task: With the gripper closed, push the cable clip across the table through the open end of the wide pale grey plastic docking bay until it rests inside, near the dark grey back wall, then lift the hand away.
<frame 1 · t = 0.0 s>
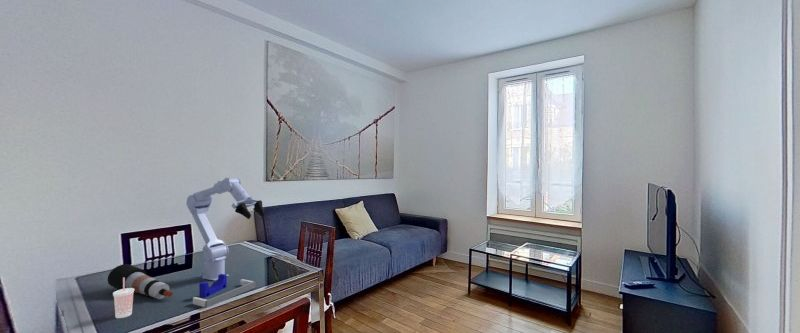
hand: (256, 216, 145), 32 cm above the table, tool tilted 50°, fingers open, 7 cm apart
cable: (144, 294, 136), on the table
cable clip: (212, 292, 139), on the table
beverage cup: (123, 315, 117), on the table
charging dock: (225, 294, 135), on the table
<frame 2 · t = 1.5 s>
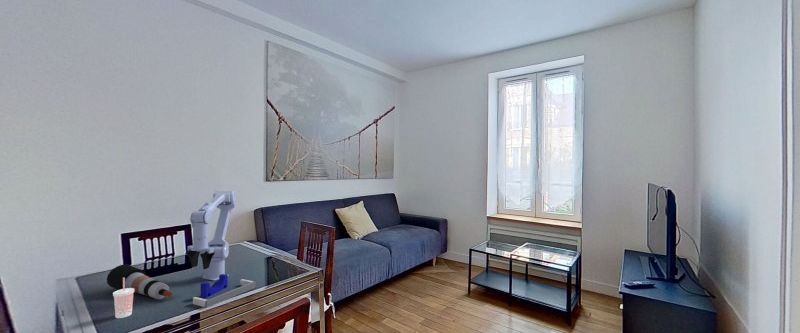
hand: (200, 267, 141), 10 cm above the table, tool pointing down, fingers open, 7 cm apart
nothing on the table moved.
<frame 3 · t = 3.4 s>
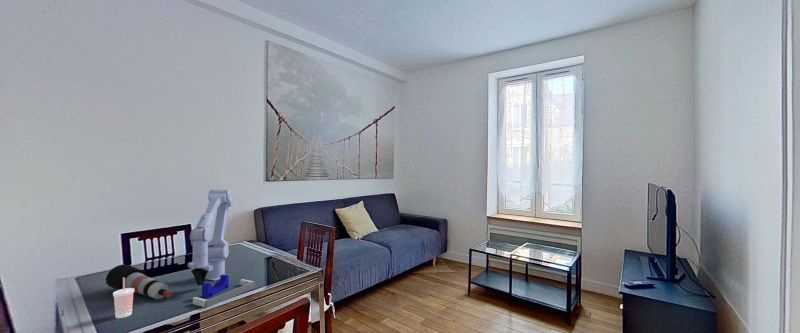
hand: (200, 284, 142), 2 cm above the table, tool pointing down, fingers closed
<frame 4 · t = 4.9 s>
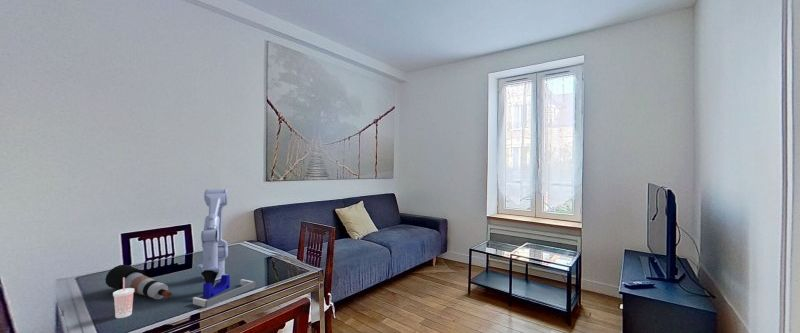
hand: (210, 287, 139), 2 cm above the table, tool pointing down, fingers closed
cable clip: (215, 293, 138), on the table, touching gripper
everything else where it was.
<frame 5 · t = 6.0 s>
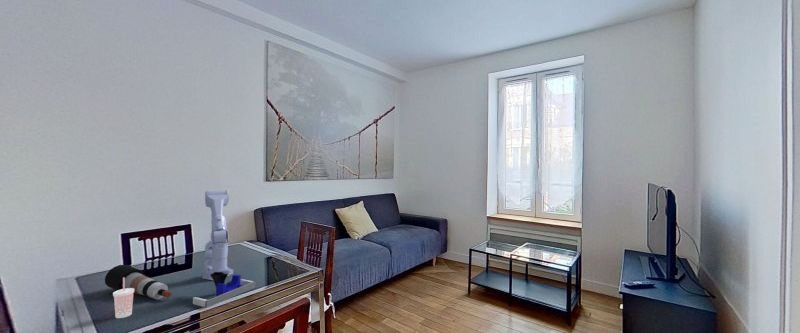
hand: (219, 289, 136), 2 cm above the table, tool pointing down, fingers closed
cable clip: (226, 293, 137), on the table, touching gripper
everything else where it was.
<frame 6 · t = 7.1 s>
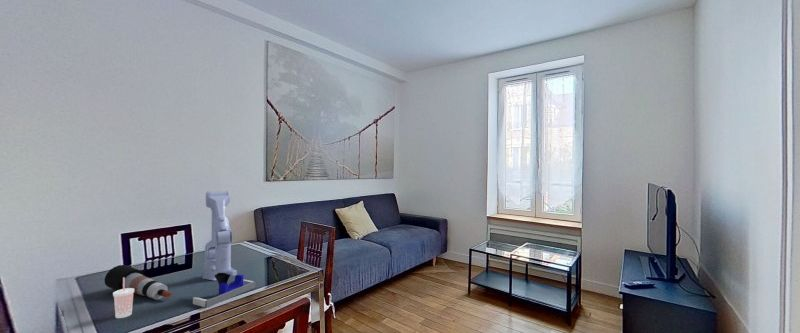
hand: (223, 289, 136), 2 cm above the table, tool pointing down, fingers closed, pressing on cable clip
cable clip: (229, 293, 137), on the table, touching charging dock, gripper
everything else where it was.
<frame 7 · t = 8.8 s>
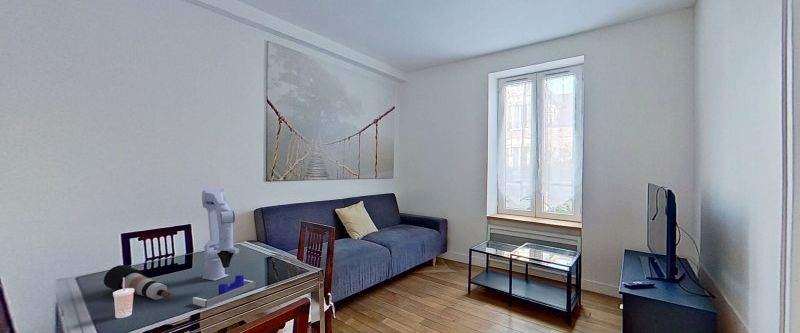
hand: (226, 267, 143), 9 cm above the table, tool pointing down, fingers closed
cable clip: (230, 294, 137), on the table
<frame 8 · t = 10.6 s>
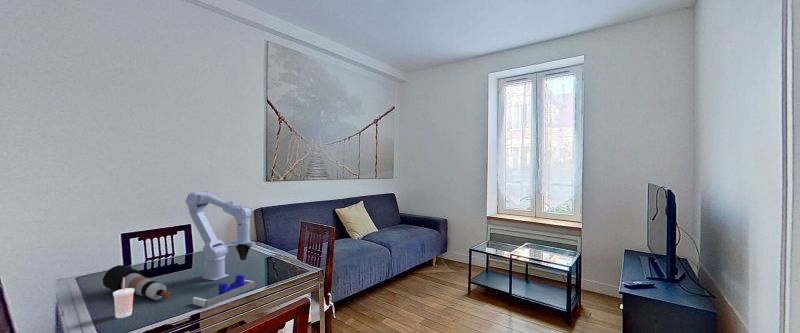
hand: (243, 259, 155), 9 cm above the table, tool pointing down, fingers closed
at the end: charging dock 0.0 cm off-centre on the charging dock, point 0.0 cm above the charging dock's base; cable clip inside the target area on the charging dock (2.5 cm from its centre), point 0.0 cm above the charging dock's base; cable clip moved 9.2 cm from its start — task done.
